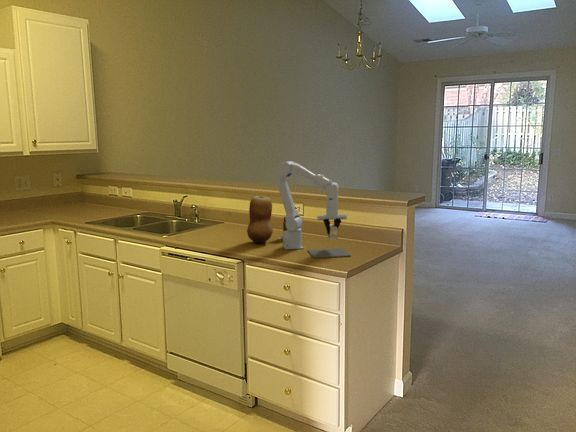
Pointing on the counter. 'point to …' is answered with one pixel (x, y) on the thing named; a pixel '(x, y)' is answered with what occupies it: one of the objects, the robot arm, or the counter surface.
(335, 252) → the mat
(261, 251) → the counter surface
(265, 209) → the butternut squash
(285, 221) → the condiment
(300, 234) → the robot arm
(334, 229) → the tile
